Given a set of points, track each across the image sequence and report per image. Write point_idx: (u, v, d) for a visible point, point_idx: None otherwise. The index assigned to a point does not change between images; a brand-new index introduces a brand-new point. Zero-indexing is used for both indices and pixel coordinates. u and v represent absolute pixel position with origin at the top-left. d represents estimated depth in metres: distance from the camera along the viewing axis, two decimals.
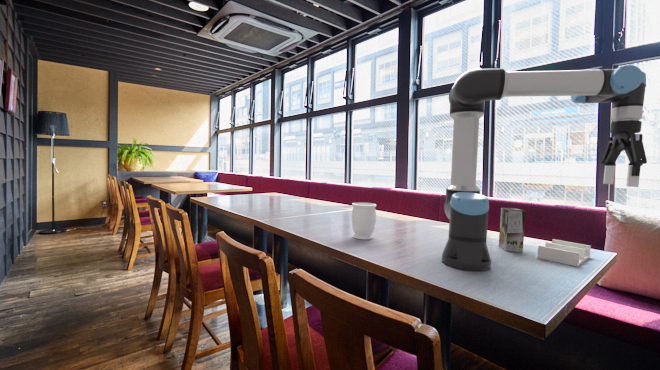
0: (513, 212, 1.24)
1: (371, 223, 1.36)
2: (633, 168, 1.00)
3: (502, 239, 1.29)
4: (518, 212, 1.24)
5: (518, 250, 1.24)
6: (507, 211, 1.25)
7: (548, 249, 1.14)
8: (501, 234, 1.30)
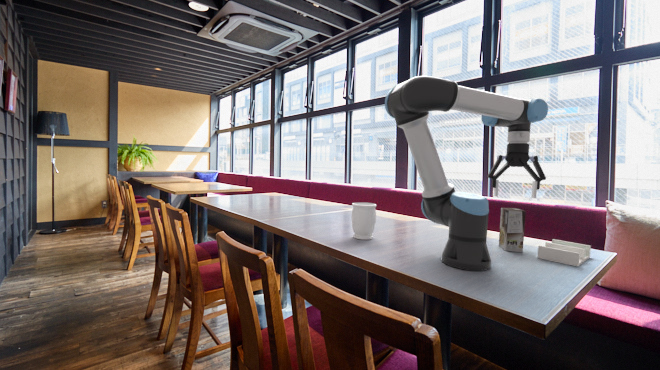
0: (513, 212, 1.24)
1: (371, 223, 1.36)
2: None
3: (502, 239, 1.29)
4: (518, 212, 1.24)
5: (518, 250, 1.24)
6: (507, 211, 1.25)
7: (548, 249, 1.14)
8: (501, 234, 1.30)
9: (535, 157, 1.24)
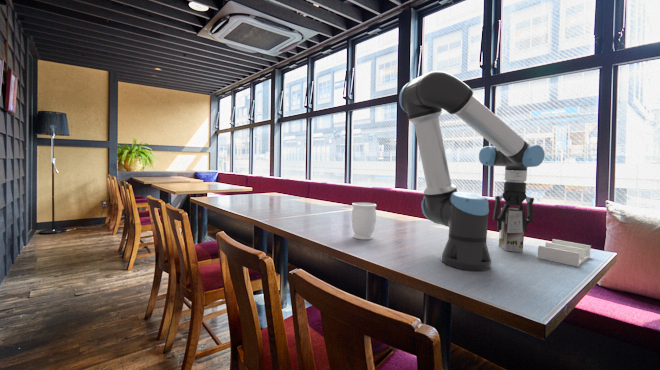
0: (513, 212, 1.24)
1: (371, 223, 1.36)
2: None
3: None
4: (518, 212, 1.24)
5: (518, 250, 1.24)
6: (507, 211, 1.25)
7: (548, 249, 1.14)
8: None
9: (531, 199, 1.25)
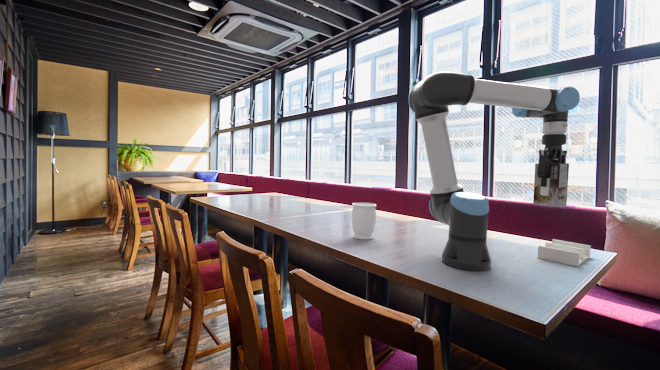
0: (562, 165, 1.17)
1: (371, 223, 1.36)
2: None
3: None
4: (565, 165, 1.18)
5: (564, 205, 1.20)
6: (557, 165, 1.18)
7: (548, 249, 1.14)
8: None
9: (565, 152, 1.23)
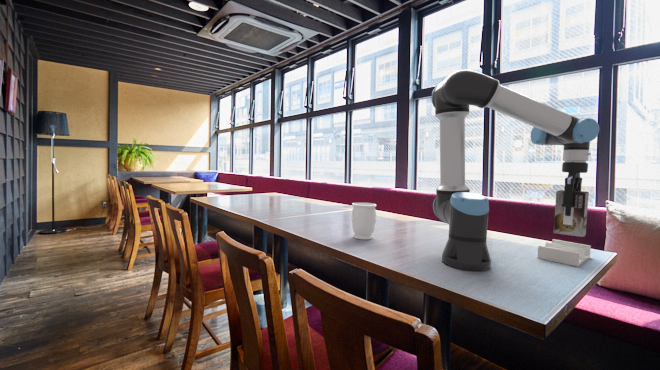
0: (586, 194, 1.15)
1: (371, 223, 1.36)
2: None
3: None
4: (587, 194, 1.17)
5: (585, 233, 1.18)
6: (582, 194, 1.15)
7: (548, 249, 1.14)
8: None
9: None
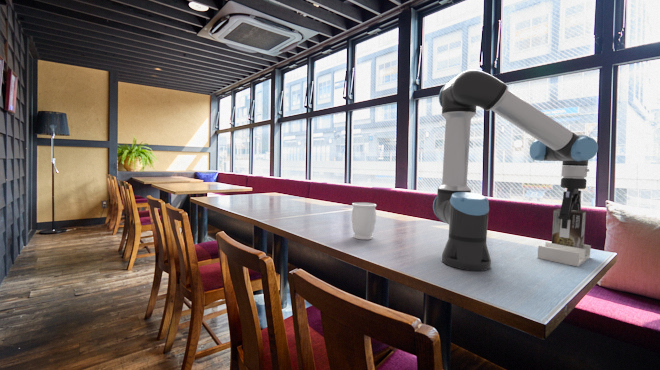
0: (584, 214, 1.16)
1: (371, 223, 1.36)
2: None
3: (567, 244, 1.18)
4: (584, 213, 1.17)
5: None
6: (579, 214, 1.15)
7: (548, 249, 1.14)
8: (562, 239, 1.19)
9: (580, 192, 1.23)
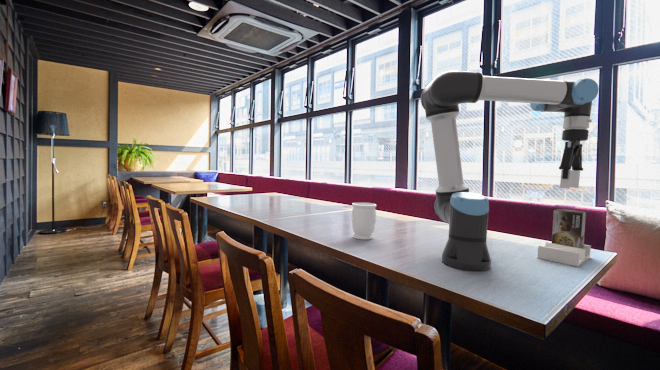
0: (584, 214, 1.16)
1: (371, 223, 1.36)
2: None
3: (567, 244, 1.18)
4: (585, 213, 1.17)
5: None
6: (579, 214, 1.16)
7: (548, 249, 1.14)
8: (562, 239, 1.19)
9: (581, 145, 1.20)
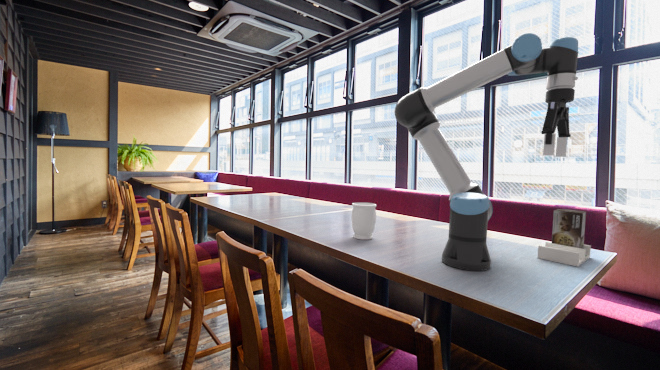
0: (584, 214, 1.16)
1: (371, 223, 1.36)
2: None
3: (567, 244, 1.18)
4: (585, 213, 1.17)
5: None
6: (579, 214, 1.16)
7: (548, 249, 1.14)
8: (562, 239, 1.19)
9: (568, 109, 1.07)
